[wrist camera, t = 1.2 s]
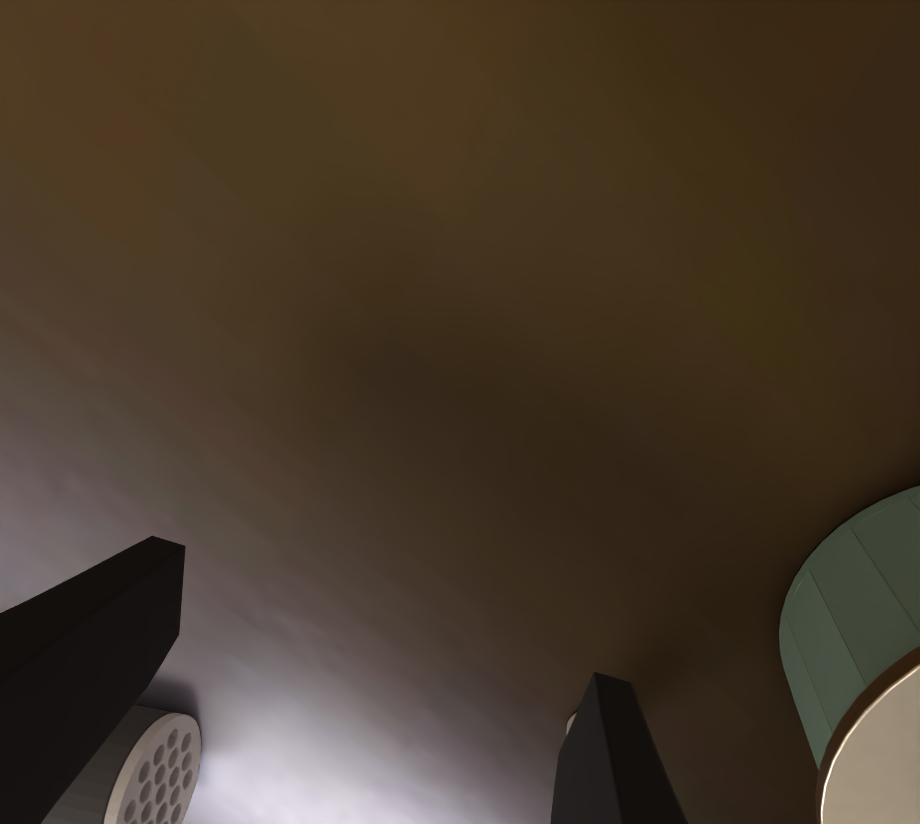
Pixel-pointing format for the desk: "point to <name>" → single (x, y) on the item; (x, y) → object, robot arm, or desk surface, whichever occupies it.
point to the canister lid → (875, 753)
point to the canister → (852, 612)
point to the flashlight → (136, 773)
